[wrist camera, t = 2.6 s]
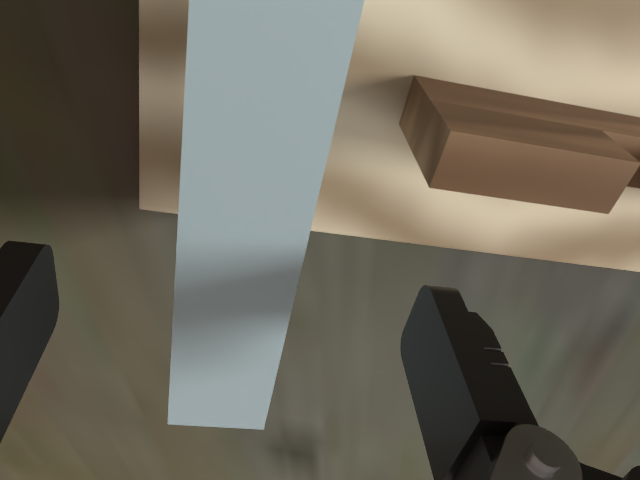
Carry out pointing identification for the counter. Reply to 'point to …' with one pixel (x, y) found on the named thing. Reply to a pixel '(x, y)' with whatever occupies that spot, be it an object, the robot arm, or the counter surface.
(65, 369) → the counter surface
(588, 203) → the walnut slotted plate
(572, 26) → the birch board
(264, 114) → the slotted cross plate
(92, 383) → the counter surface
